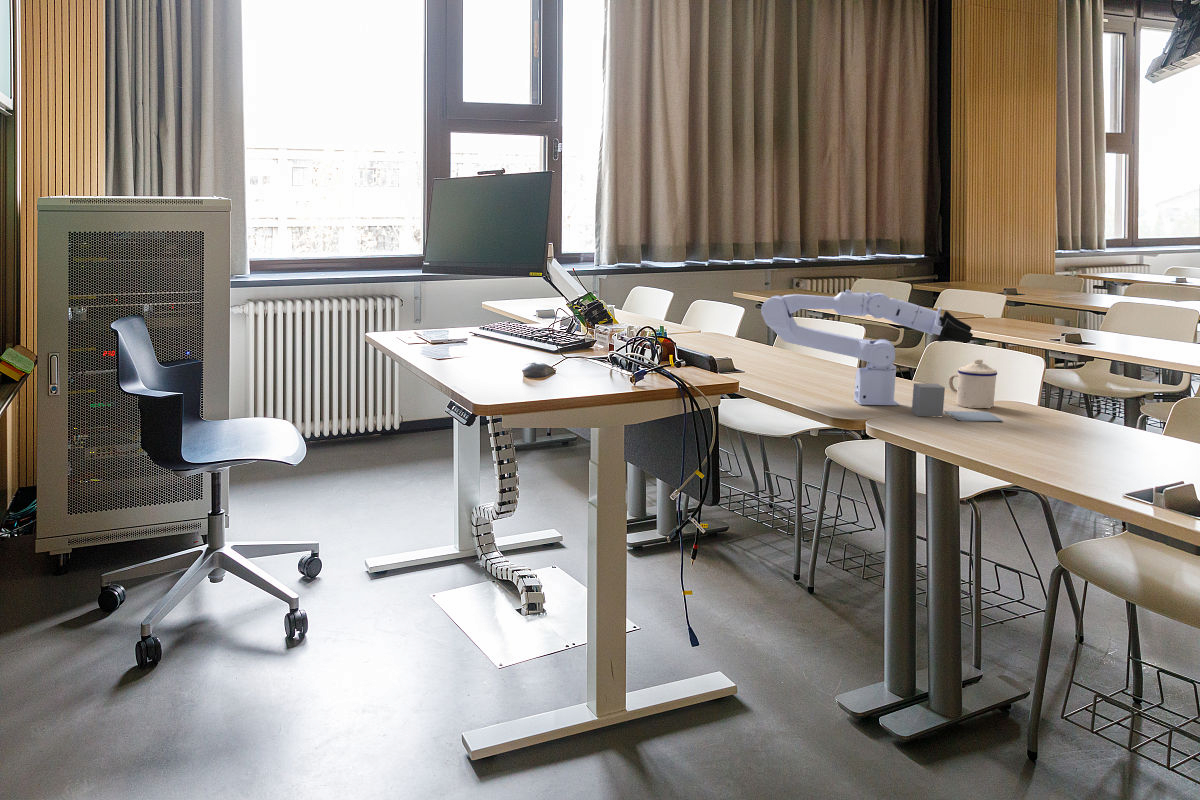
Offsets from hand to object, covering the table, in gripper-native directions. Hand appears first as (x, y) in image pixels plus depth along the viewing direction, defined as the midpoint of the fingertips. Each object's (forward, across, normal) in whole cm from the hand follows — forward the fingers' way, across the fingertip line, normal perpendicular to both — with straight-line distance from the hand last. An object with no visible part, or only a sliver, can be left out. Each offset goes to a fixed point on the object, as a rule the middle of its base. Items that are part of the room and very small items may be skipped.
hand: (970, 334), depth 227 cm
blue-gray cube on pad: (-4, -14, +18) cm, 23 cm away
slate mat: (+6, -13, +16) cm, 21 cm away
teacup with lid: (+6, +3, +18) cm, 19 cm away
